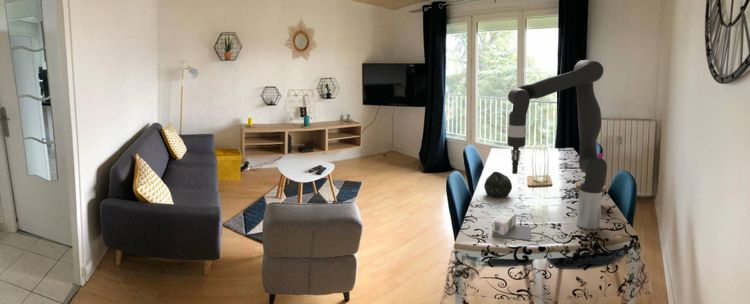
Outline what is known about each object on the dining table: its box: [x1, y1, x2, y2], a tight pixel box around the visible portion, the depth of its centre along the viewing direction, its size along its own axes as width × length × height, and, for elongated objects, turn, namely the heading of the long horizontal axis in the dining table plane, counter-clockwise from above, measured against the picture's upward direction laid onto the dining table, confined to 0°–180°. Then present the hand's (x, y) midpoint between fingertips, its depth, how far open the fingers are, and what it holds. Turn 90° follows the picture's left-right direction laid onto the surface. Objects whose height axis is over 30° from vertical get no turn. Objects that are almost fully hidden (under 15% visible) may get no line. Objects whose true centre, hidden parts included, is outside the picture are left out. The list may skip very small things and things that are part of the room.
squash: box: [483, 171, 513, 199], centre depth 257 cm, size 14×15×15 cm
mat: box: [491, 224, 531, 242], centre depth 210 cm, size 16×15×1 cm
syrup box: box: [492, 211, 517, 235], centre depth 212 cm, size 6×6×14 cm
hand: (514, 173), depth 207 cm, fingers closed
